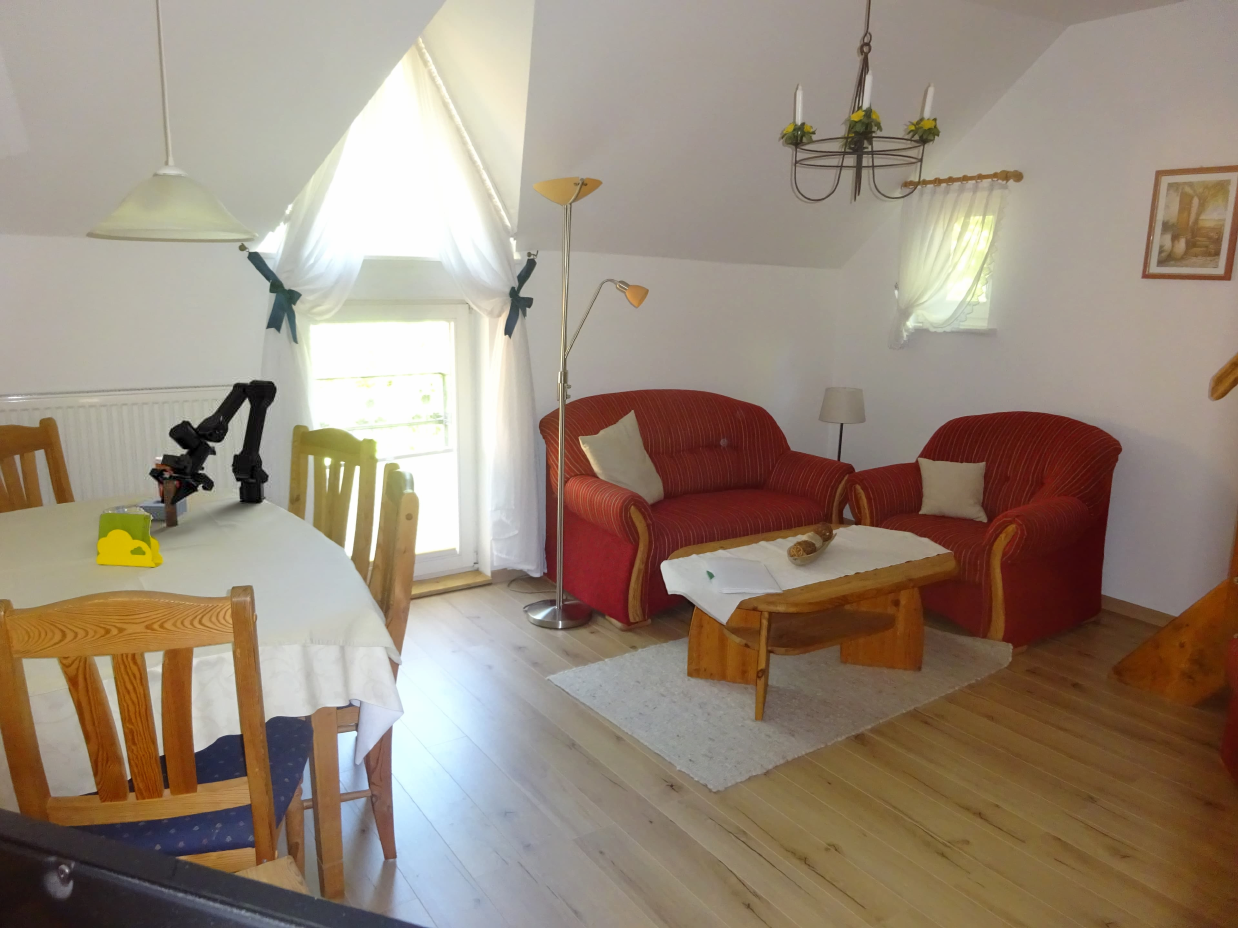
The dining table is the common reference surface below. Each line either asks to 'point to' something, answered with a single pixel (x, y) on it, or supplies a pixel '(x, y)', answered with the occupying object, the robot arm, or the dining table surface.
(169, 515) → the dowel
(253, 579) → the dining table surface
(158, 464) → the paper cup
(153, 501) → the socket block
